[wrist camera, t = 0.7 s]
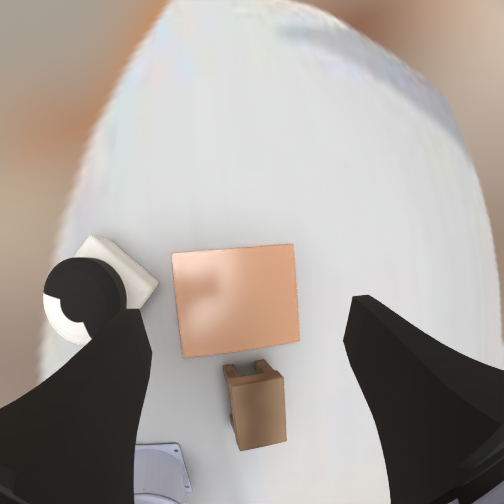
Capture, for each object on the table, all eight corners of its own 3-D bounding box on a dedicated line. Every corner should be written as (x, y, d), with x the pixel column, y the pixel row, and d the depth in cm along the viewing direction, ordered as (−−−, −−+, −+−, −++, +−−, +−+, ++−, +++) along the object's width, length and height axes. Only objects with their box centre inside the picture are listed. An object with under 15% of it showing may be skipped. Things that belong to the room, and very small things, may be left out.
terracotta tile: (297, 339, 32) (299, 341, 32) (183, 356, 29) (183, 358, 29) (291, 244, 32) (293, 244, 32) (171, 253, 29) (171, 253, 29)
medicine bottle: (109, 238, 28) (68, 225, 16) (160, 282, 29) (148, 297, 17) (72, 290, 26) (17, 307, 15) (121, 334, 28) (91, 376, 16)
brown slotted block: (265, 358, 31) (283, 377, 26) (269, 415, 31) (286, 441, 26) (221, 364, 30) (231, 386, 24) (229, 423, 30) (240, 451, 24)
